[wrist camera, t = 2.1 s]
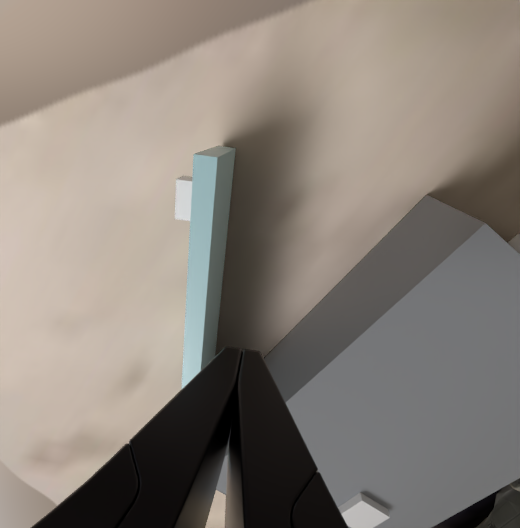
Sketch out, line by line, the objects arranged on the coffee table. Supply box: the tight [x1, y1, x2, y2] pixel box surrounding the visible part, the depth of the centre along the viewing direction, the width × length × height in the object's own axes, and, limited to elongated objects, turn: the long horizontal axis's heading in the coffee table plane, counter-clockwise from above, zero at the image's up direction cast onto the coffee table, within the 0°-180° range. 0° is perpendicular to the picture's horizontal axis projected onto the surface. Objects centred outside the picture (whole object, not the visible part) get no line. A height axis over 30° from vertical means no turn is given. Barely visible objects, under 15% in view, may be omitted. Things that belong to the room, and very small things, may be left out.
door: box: [175, 146, 236, 389], centre depth 16 cm, size 16×2×5 cm, turn 172°
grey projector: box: [216, 195, 520, 528], centre depth 17 cm, size 20×12×5 cm, turn 142°
